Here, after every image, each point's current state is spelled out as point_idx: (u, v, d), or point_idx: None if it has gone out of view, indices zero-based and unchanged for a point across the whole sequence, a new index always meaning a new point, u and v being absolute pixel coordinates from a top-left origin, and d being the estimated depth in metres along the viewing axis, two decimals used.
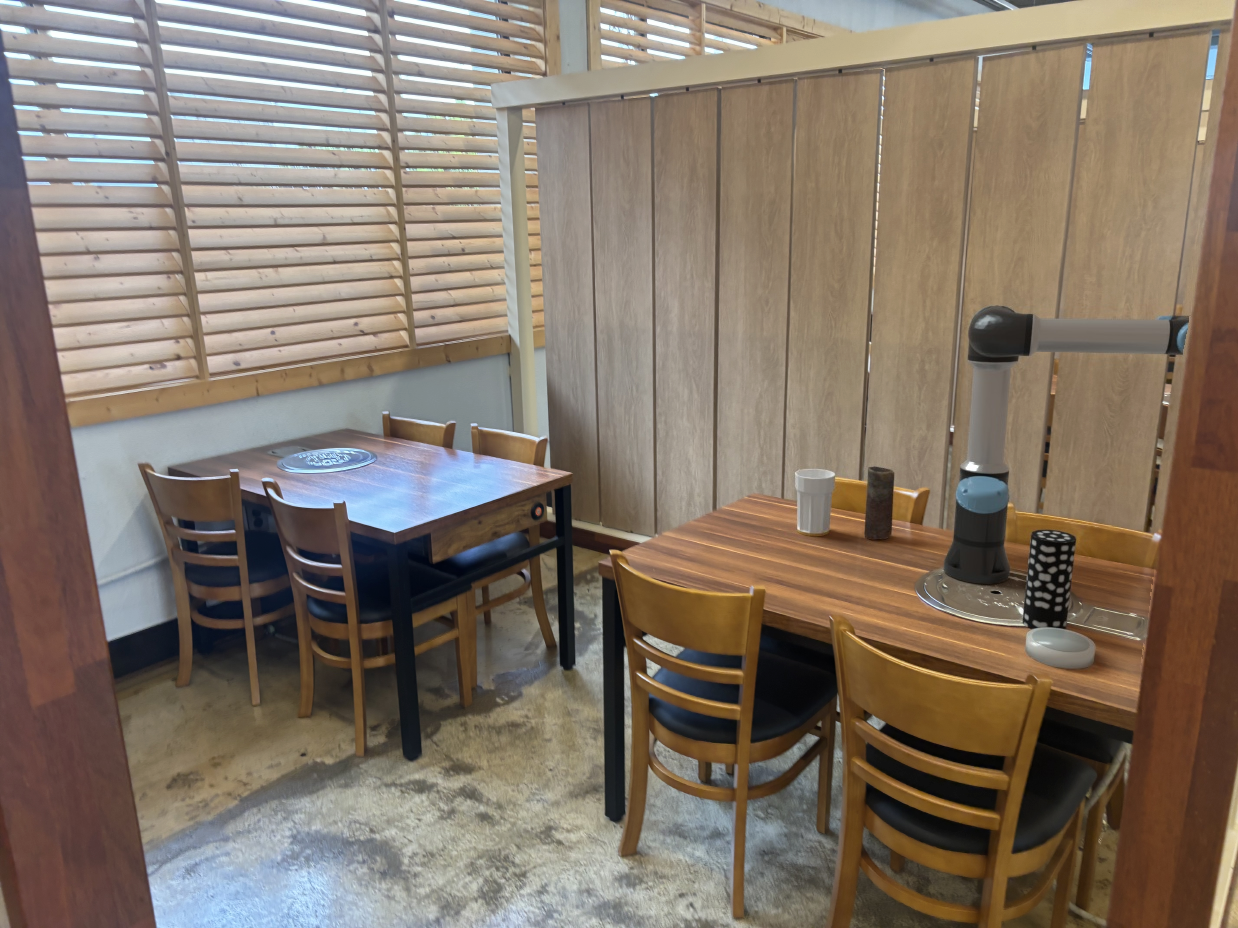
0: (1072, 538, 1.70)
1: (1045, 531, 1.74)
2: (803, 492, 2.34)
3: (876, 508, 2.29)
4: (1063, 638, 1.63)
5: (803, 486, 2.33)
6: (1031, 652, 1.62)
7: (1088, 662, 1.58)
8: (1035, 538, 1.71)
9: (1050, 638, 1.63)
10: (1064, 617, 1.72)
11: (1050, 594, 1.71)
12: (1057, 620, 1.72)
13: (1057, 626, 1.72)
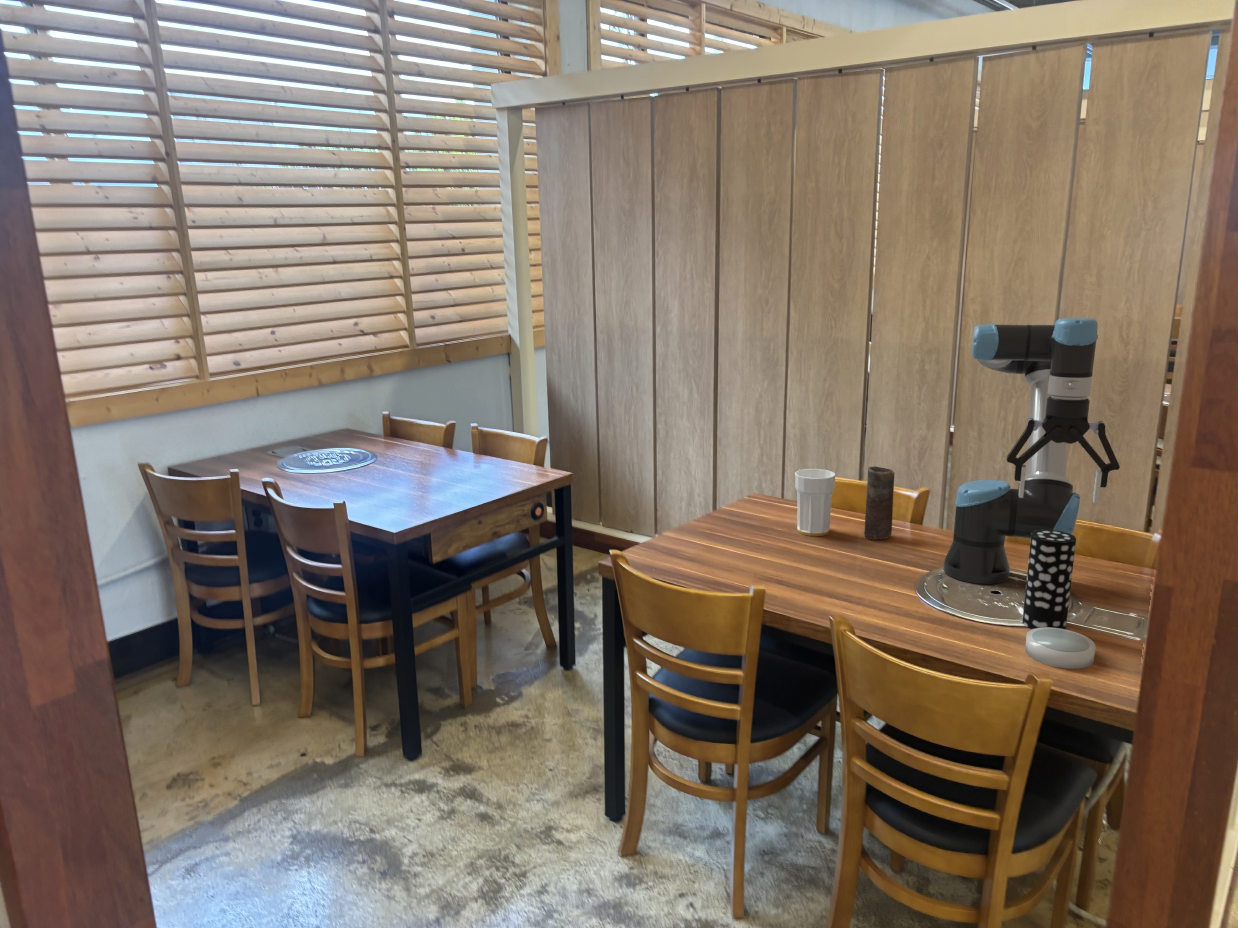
0: (1072, 538, 1.70)
1: (1045, 531, 1.74)
2: (803, 492, 2.34)
3: (876, 508, 2.29)
4: (1063, 638, 1.63)
5: (803, 486, 2.33)
6: (1031, 652, 1.62)
7: (1088, 662, 1.58)
8: (1035, 538, 1.71)
9: (1050, 638, 1.63)
10: (1064, 617, 1.72)
11: (1050, 594, 1.71)
12: (1057, 620, 1.72)
13: (1057, 626, 1.72)
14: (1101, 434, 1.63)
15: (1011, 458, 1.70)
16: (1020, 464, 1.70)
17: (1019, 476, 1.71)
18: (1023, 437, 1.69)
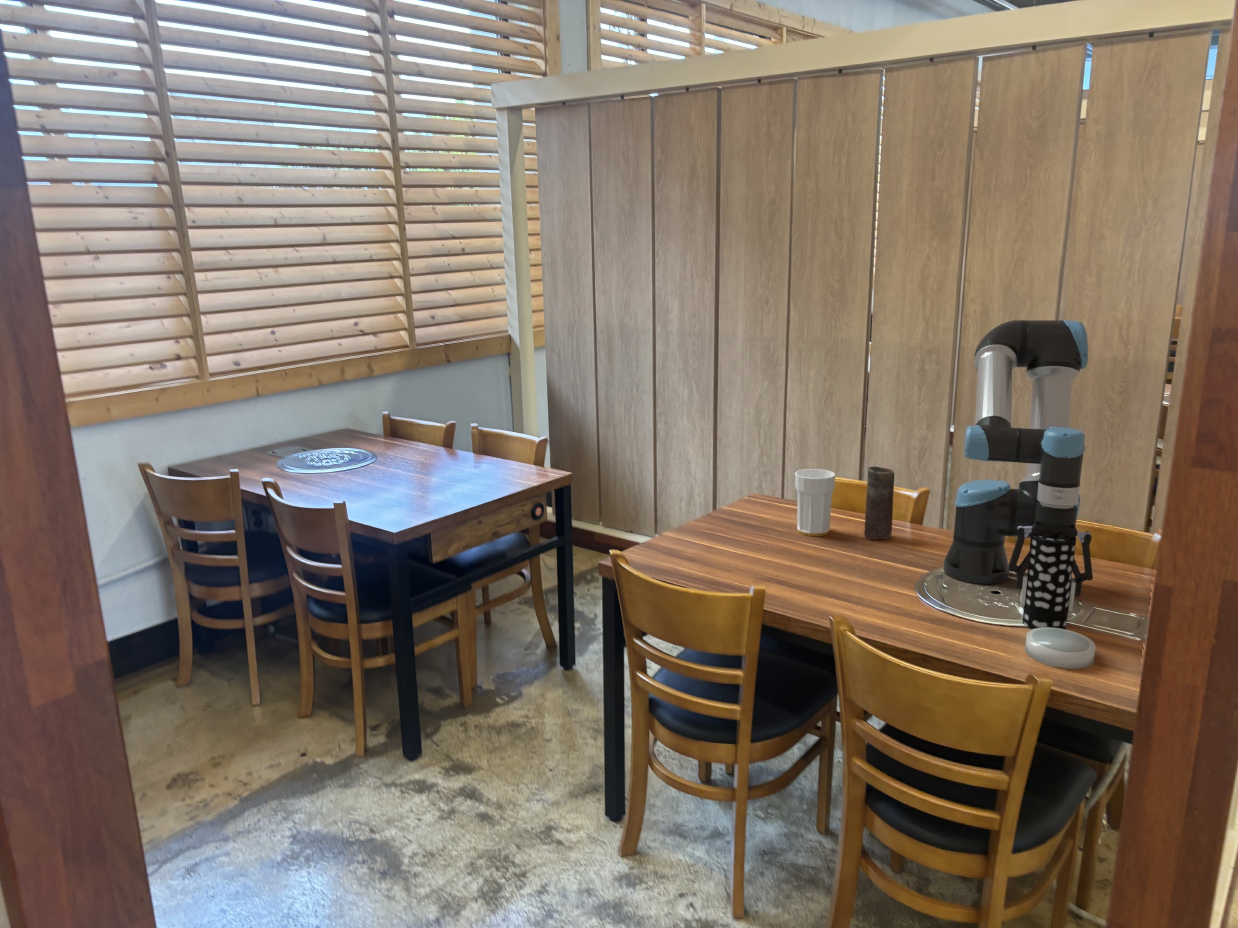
0: None
1: None
2: (803, 492, 2.34)
3: (876, 508, 2.29)
4: (1063, 638, 1.63)
5: (803, 486, 2.33)
6: (1031, 652, 1.62)
7: (1088, 662, 1.58)
8: (1035, 538, 1.71)
9: (1050, 638, 1.63)
10: (1064, 617, 1.72)
11: (1050, 594, 1.71)
12: (1057, 620, 1.72)
13: (1057, 626, 1.72)
14: (1085, 544, 1.68)
15: (1012, 567, 1.75)
16: (1022, 573, 1.75)
17: (1021, 584, 1.76)
18: (1017, 545, 1.74)
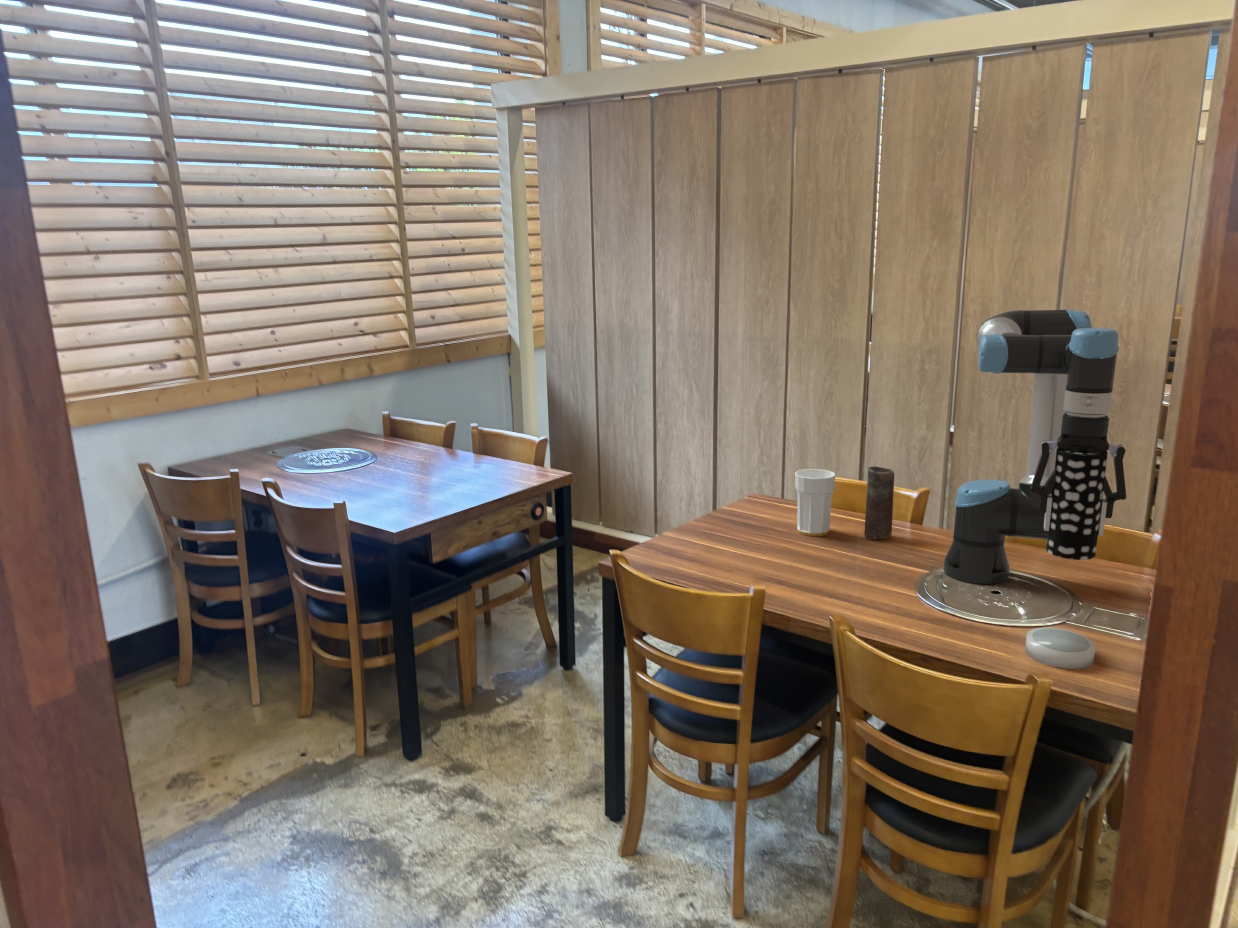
0: None
1: None
2: (803, 492, 2.34)
3: (876, 508, 2.29)
4: (1063, 638, 1.63)
5: (803, 486, 2.33)
6: (1031, 652, 1.62)
7: (1088, 662, 1.58)
8: (1061, 453, 1.53)
9: (1050, 638, 1.63)
10: (1094, 542, 1.54)
11: (1079, 516, 1.52)
12: (1086, 545, 1.53)
13: (1085, 552, 1.54)
14: (1118, 459, 1.50)
15: (1035, 487, 1.57)
16: (1046, 494, 1.56)
17: (1045, 507, 1.57)
18: (1041, 463, 1.56)
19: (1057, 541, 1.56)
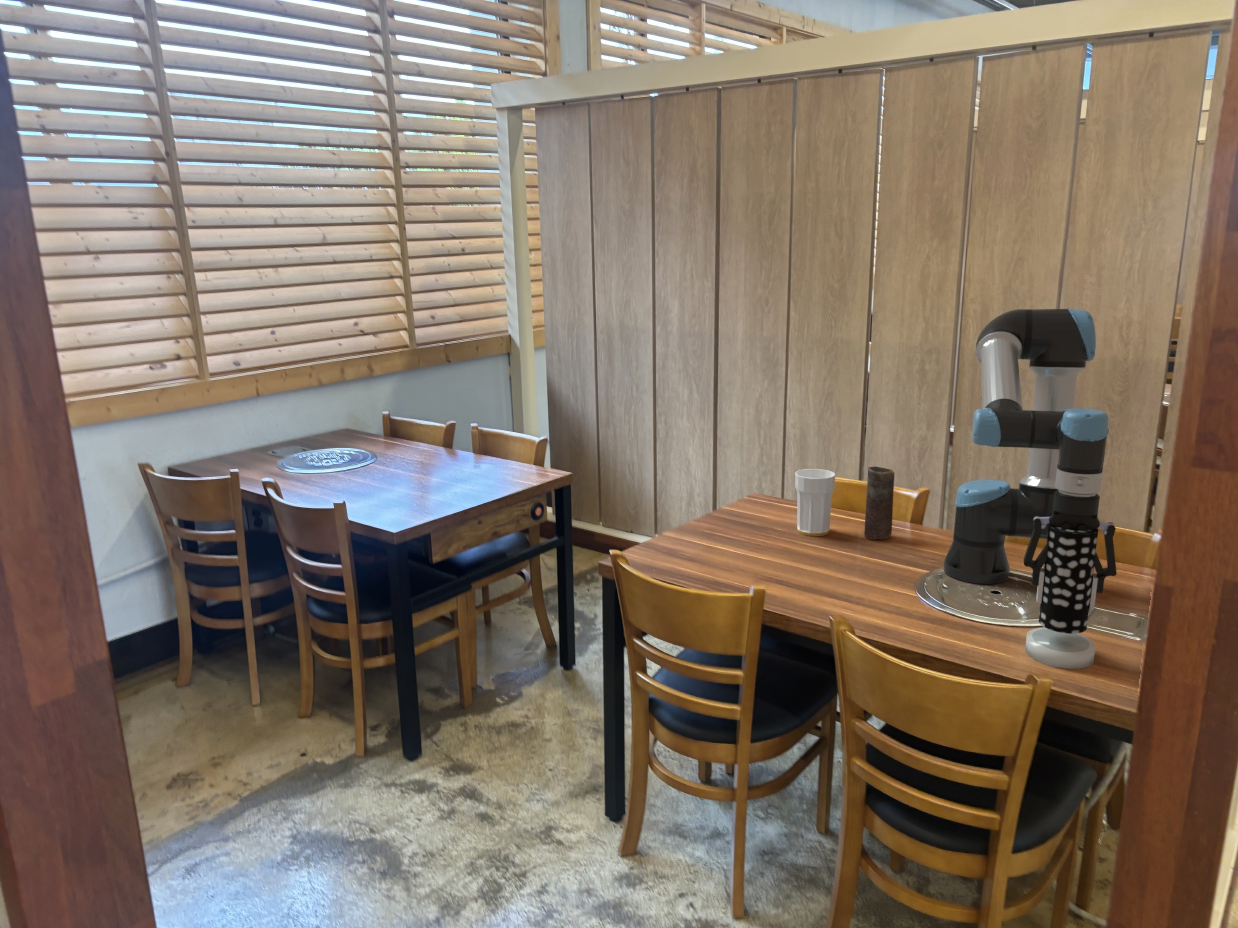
0: None
1: None
2: (803, 492, 2.34)
3: (876, 508, 2.29)
4: (1063, 638, 1.63)
5: (803, 485, 2.33)
6: (1031, 652, 1.62)
7: (1088, 662, 1.58)
8: (1053, 530, 1.56)
9: (1050, 638, 1.63)
10: (1085, 616, 1.57)
11: (1070, 591, 1.56)
12: (1077, 619, 1.57)
13: (1077, 626, 1.57)
14: (1108, 536, 1.54)
15: (1028, 561, 1.60)
16: (1038, 568, 1.60)
17: (1037, 580, 1.61)
18: (1033, 538, 1.59)
19: (1049, 614, 1.59)
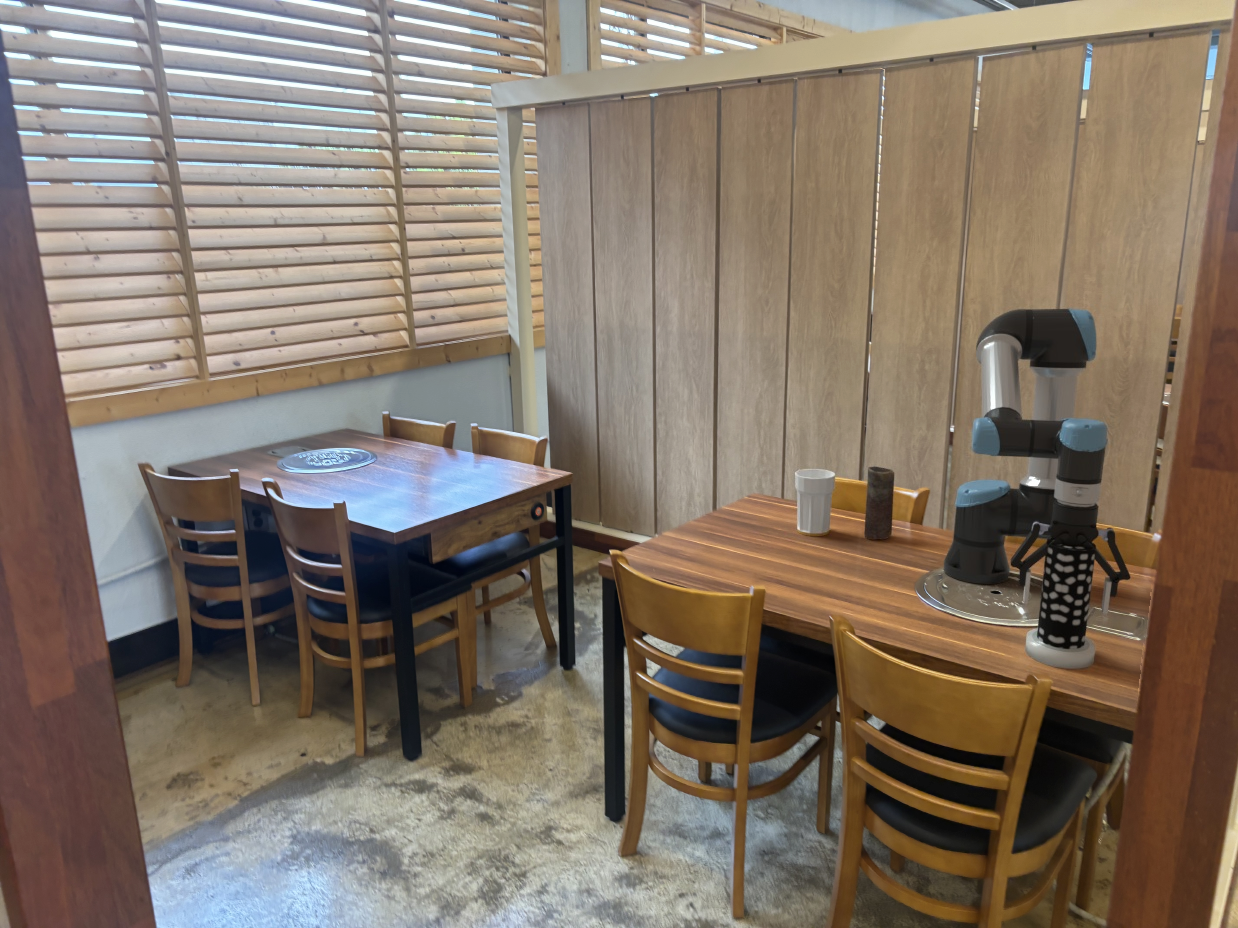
0: None
1: None
2: (803, 492, 2.34)
3: (876, 508, 2.29)
4: None
5: (803, 486, 2.33)
6: (1031, 652, 1.62)
7: (1088, 662, 1.58)
8: (1051, 546, 1.57)
9: None
10: (1083, 632, 1.58)
11: (1068, 607, 1.57)
12: (1075, 635, 1.58)
13: (1075, 641, 1.58)
14: (1111, 542, 1.54)
15: (1015, 562, 1.61)
16: (1025, 569, 1.61)
17: (1024, 580, 1.62)
18: (1028, 541, 1.60)
19: (1047, 630, 1.60)
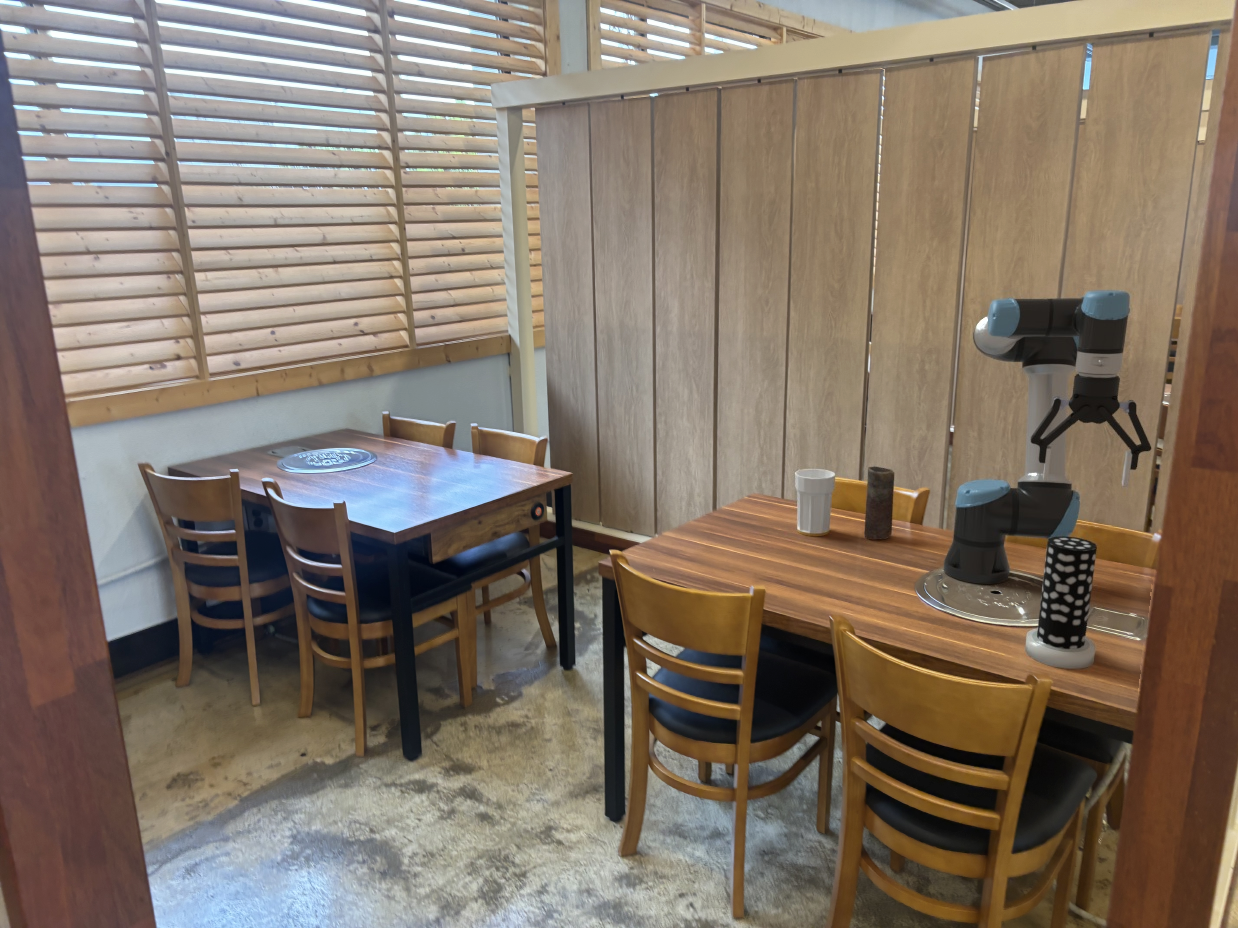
0: (1092, 546, 1.56)
1: (1062, 538, 1.61)
2: (803, 492, 2.34)
3: (876, 508, 2.29)
4: None
5: (803, 486, 2.33)
6: (1031, 652, 1.62)
7: (1088, 662, 1.58)
8: (1052, 546, 1.57)
9: None
10: (1083, 632, 1.58)
11: (1068, 607, 1.57)
12: (1075, 635, 1.58)
13: (1075, 641, 1.58)
14: (1132, 413, 1.54)
15: (1035, 439, 1.62)
16: (1045, 445, 1.62)
17: (1044, 457, 1.63)
18: (1048, 417, 1.60)
19: (1047, 630, 1.60)
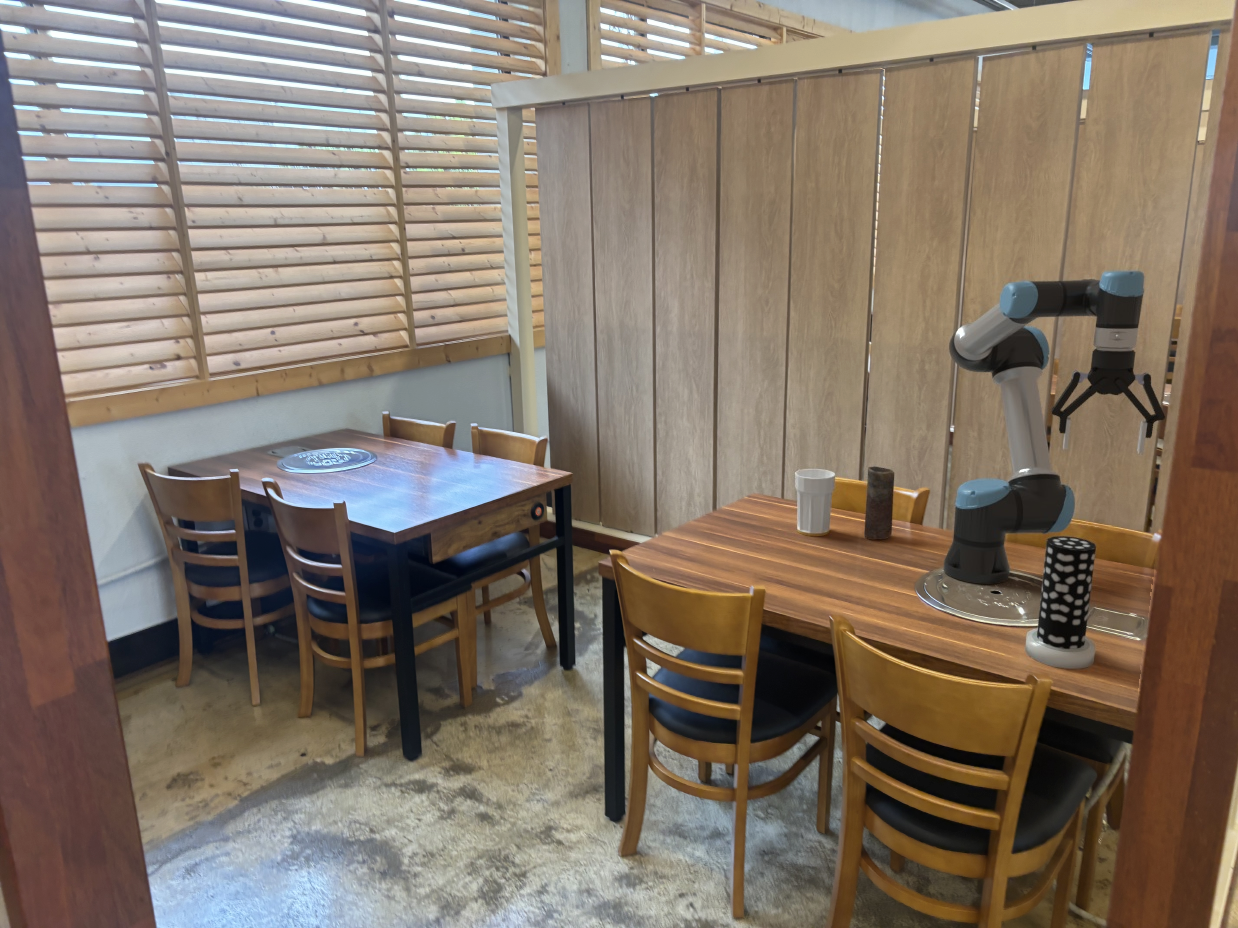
0: (1092, 545, 1.56)
1: (1062, 538, 1.61)
2: (803, 492, 2.34)
3: (876, 508, 2.29)
4: None
5: (803, 486, 2.33)
6: (1031, 652, 1.62)
7: (1088, 662, 1.58)
8: (1051, 545, 1.57)
9: None
10: (1083, 631, 1.58)
11: (1068, 607, 1.57)
12: (1075, 635, 1.58)
13: (1075, 641, 1.58)
14: (1147, 385, 1.66)
15: (1056, 411, 1.73)
16: (1065, 416, 1.73)
17: (1064, 428, 1.74)
18: (1068, 389, 1.71)
19: (1047, 630, 1.60)
